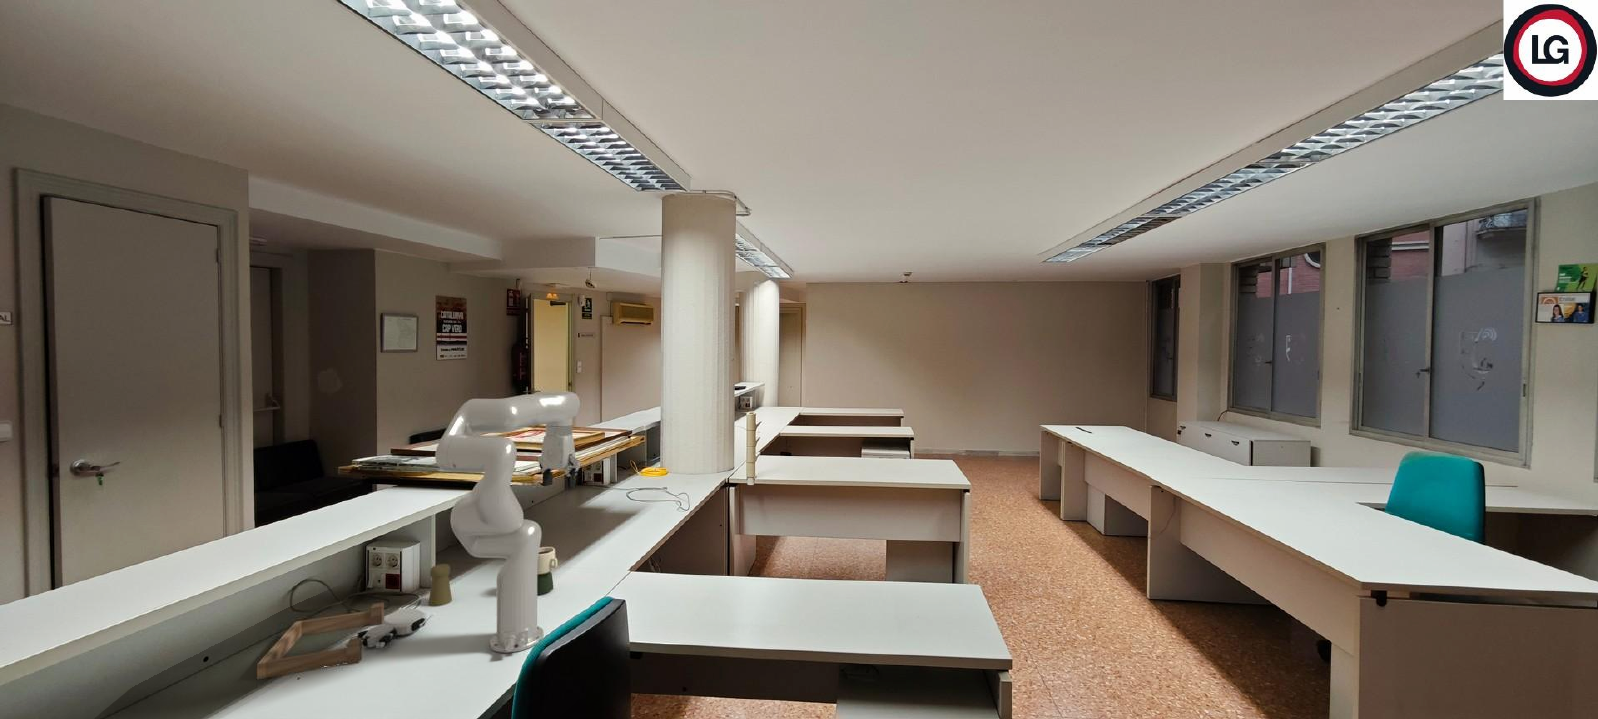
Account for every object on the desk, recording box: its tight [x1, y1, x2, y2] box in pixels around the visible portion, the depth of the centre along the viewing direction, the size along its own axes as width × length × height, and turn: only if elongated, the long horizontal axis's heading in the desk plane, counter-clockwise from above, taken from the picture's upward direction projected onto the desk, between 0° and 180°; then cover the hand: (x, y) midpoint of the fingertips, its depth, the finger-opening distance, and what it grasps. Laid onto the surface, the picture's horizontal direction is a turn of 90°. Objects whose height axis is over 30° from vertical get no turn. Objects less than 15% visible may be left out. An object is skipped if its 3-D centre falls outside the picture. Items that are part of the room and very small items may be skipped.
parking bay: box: [256, 602, 385, 680], centre depth 144 cm, size 23×19×5 cm
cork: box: [427, 563, 453, 607], centre depth 170 cm, size 6×6×11 cm
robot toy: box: [349, 607, 435, 649], centre depth 150 cm, size 12×4×15 cm
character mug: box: [537, 546, 558, 595], centre depth 178 cm, size 11×7×13 cm, turn 72°
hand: (558, 487), depth 174 cm, fingers open, 9 cm apart
